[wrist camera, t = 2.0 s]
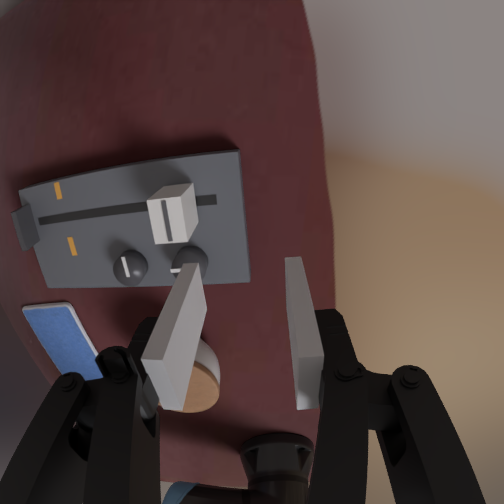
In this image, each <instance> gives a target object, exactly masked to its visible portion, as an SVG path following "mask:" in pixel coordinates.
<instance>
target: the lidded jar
mask: <svg viewBox="0 0 504 504" xmlns="http://www.w3.org/2000/svg"><path fill="white" fill-rule="evenodd" d="M219 384H220V368H219V363H218V360H217V357H216V355H215V353H214V352H213V350H212V349H211V348H210V346H209V345H208V344H206V343H205V342H204V341H203V340H202V339H201V338H200V339H199V343H198V347H197V351H196V355H195V359H194V364H193V368H192V372H191V376H190V380H189V385H188V389H187V393H186V398H185V402H184V406H183V411H181V410H173V411H178V412H185V413H193V412H200V411H204V410H207V409H208V408H210V407H212V406H213V405H214V404H215V403H216V402H217V400H218V397H219V391H220V388H219ZM158 405H160V406H162V405H161V403H160V401H159V403H158Z"/></svg>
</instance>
